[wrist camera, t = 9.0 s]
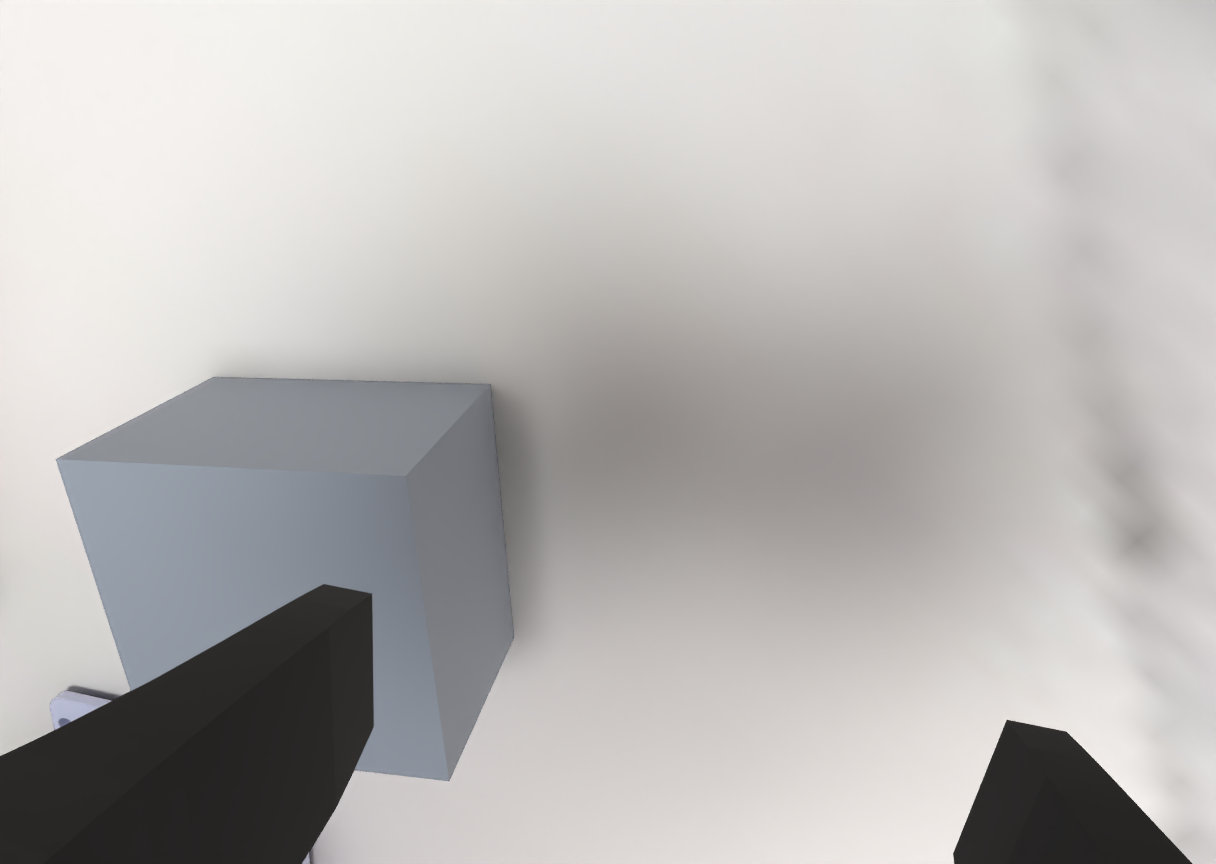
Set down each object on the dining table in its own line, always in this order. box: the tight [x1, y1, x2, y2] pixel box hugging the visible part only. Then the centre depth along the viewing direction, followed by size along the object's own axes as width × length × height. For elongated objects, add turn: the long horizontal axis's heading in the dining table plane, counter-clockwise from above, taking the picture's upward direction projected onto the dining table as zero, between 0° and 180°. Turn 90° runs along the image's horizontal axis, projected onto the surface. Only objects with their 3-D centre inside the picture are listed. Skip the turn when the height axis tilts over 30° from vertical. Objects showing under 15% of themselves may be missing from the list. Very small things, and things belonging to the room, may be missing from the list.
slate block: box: [56, 377, 514, 781], centre depth 18 cm, size 7×7×5 cm
